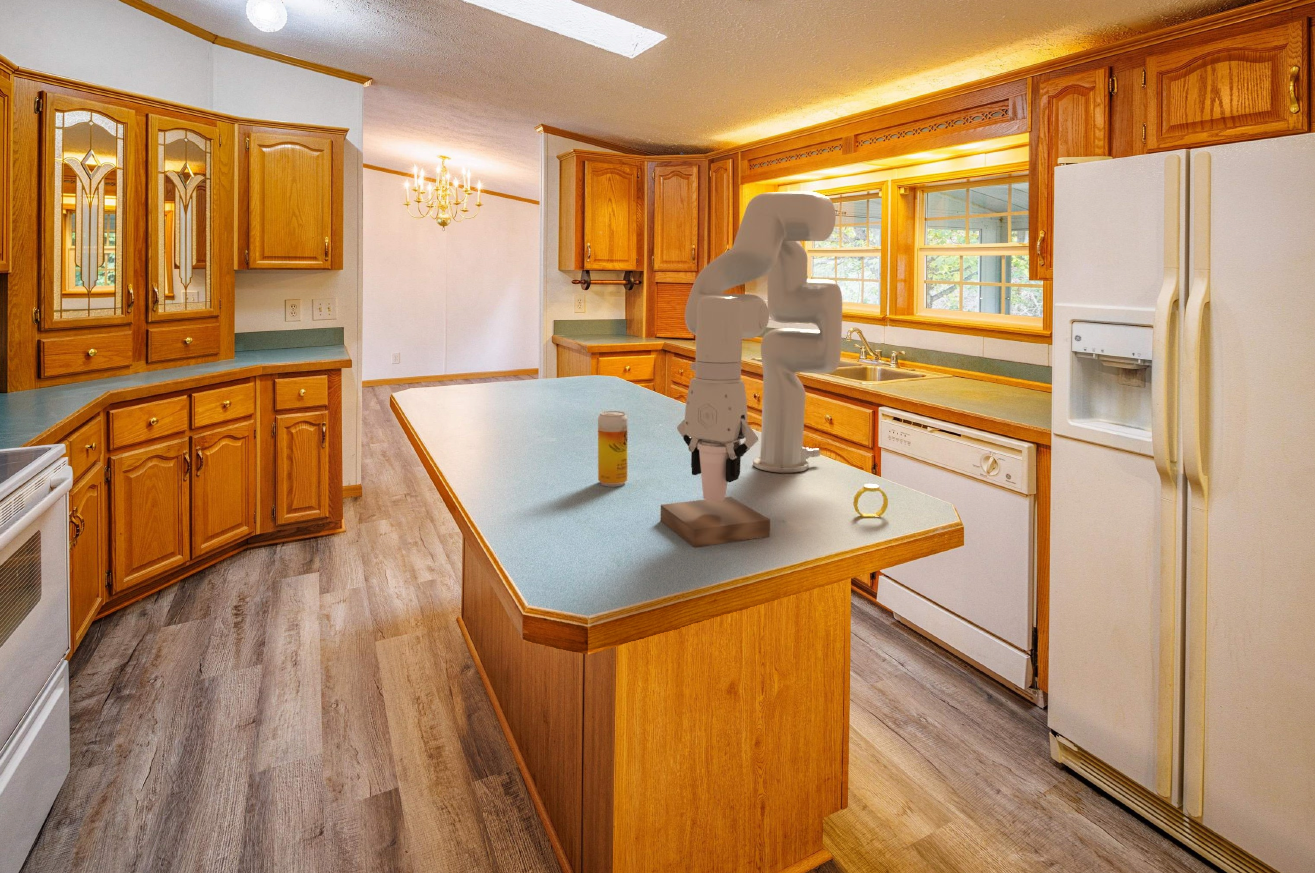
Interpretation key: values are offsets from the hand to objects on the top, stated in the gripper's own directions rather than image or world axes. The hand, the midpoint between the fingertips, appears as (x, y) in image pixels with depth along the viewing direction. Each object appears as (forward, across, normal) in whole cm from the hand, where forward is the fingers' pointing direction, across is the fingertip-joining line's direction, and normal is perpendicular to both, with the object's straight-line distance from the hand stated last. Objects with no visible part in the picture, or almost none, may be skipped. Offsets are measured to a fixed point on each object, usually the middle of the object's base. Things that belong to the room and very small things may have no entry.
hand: (715, 476), depth 124 cm
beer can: (+10, -32, +10) cm, 35 cm away
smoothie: (+4, 0, 0) cm, 4 cm away
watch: (+10, +18, +24) cm, 32 cm away
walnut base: (+9, 0, 0) cm, 9 cm away
